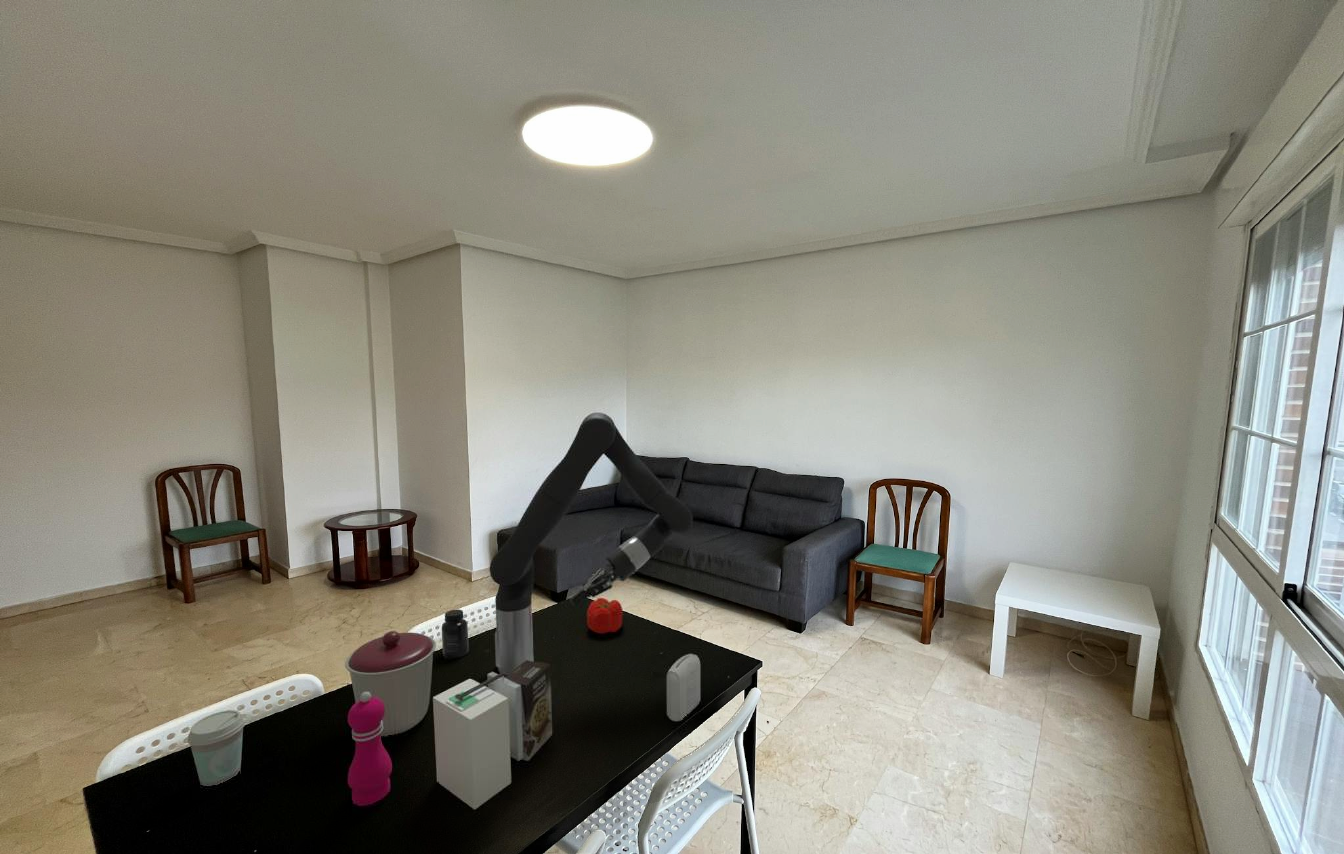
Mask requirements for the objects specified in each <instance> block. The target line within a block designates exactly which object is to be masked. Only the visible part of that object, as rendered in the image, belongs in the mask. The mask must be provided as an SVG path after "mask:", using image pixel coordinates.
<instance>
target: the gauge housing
mask: <svg viewBox="0 0 1344 854" xmlns="http://www.w3.org/2000/svg"><path fill="white" fill-rule="evenodd" d="M479 684H481V683H480V682H478V681H476V680H474V679H471V678H469V679H466V680H464V681H463V682H461V683H458V684H456V685H455V686H452V687H451V688H448V689H446V690H445V691H443V692H441V693H438V694H436V695H435V696H433V697H432V704H433V705H432V706H433V725H434V726H433V728H434V746H435V747H434V748H435V763H436V765H435V767H436V782H437V783H438V782H439V783H438V784H440V785H441V786H442V787H444V788H445V789H446V790H447V791H449V792H451V794H453V795H454V796H456V797H457V798H458V799H460V800H461V801H462V802H463V803H465V804H467V805H468V806H469V807H470V808H472V809H473V810H476V809H478V808H479V807H480V806H482V805H483V804H485V803H486V802H487V801H488V800H490V799H491V798H492V797H494V796H495V795H497V794H498V793H499V792H501V791H502V790H503V789H505V788H506V787H507V786H509V785H511V784H512V769H511V768H512V767H511V756H510V737H509V711H508V698H507V697H505V696H503V695H501V694H499V693H497V692H495V691H493V690H491V689H489V688H488V686H484V687H482V688H480V689H478V690H476V691H474V692H472V693H471V694H469V695H467V696H465V697H463V700H461V701H460V700H458V699H456V698H455V695H457V694H459V695H460V694H462V693H464V692H466V691H468V690H469V689H471V688H473V687H475V686H477V685H479Z"/></svg>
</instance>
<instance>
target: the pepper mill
mask: <svg viewBox="0 0 1344 854" xmlns="http://www.w3.org/2000/svg"><path fill="white" fill-rule="evenodd" d="M384 715H385V706H384V703H383V702H382V701H381V700H380V699H378V698H376V697H371V694H370V693H369V692H364V693H362V694H361V696H360V700H359V701H358V702H356V701H355V703H354V704H353V705H352V706H351V707H350V709H349V711H348V715H347V723H348V725H349V727H350V728H351V734H352V735H351V737H352V740H354V741H355V751H354V757H353V759H352V762H351V764H350V766H349V769H348V773H347V784H348V786H349V788H350V789H352V790H351V799H352V800H351V801H353V802H352V804H353V803H354V804H357V805H358V806H365V805H366V806H367V805H369V804H370V805H371V804H373V803H375V802H377V801H379V800H381V799H382V798H384V797H385V796H386V795H387V794H388V795H389V793H390V791H391V779H390V775H391V773H392V772H393V771H392V770H393V764H392V759H391V757H390V755H389V753H388V752H387V750H386V748H385V747H384V745H383V743H382V736H381V732H382V730H383V721H382V719H383V717H384ZM388 792H389V793H388ZM388 795H387V796H388ZM387 796H386V797H387ZM386 797H385V798H386ZM385 798H384V799H385ZM354 804H353V805H354ZM371 806H372V805H371ZM367 807H368V806H367Z"/></svg>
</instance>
